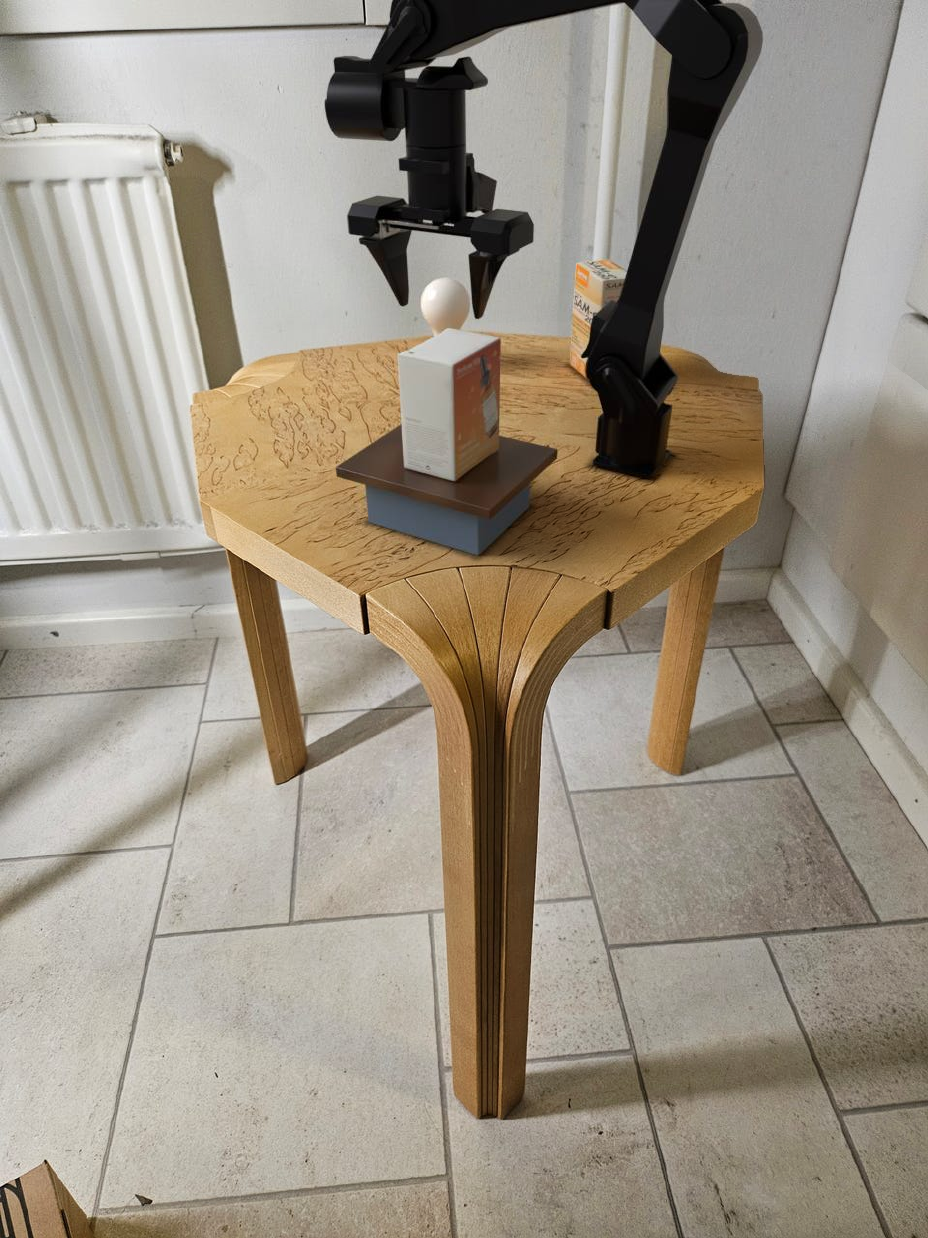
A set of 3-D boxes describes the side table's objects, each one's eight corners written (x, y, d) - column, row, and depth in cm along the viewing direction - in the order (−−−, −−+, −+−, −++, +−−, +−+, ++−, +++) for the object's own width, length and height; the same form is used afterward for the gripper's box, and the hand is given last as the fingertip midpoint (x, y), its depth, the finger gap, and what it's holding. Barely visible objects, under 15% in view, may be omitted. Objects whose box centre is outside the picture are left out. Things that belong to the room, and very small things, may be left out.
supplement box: (567, 365, 113) (573, 261, 105) (600, 361, 114) (609, 257, 106) (593, 388, 106) (602, 279, 99) (628, 383, 108) (640, 275, 100)
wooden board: (557, 458, 80) (557, 448, 79) (490, 520, 71) (490, 509, 71) (414, 424, 87) (413, 415, 86) (336, 476, 78) (335, 466, 77)
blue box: (529, 507, 83) (531, 460, 80) (478, 556, 76) (478, 506, 73) (425, 479, 88) (423, 434, 85) (368, 522, 81) (363, 475, 78)
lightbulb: (413, 364, 114) (409, 278, 107) (447, 352, 117) (445, 268, 111) (446, 376, 110) (443, 288, 104) (480, 363, 114) (480, 277, 107)
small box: (454, 484, 74) (452, 365, 68) (402, 469, 77) (395, 353, 70) (501, 449, 80) (502, 336, 73) (450, 435, 82) (448, 325, 76)
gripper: (561, 138, 82) (553, 303, 92) (400, 127, 90) (408, 280, 99) (508, 155, 75) (505, 333, 84) (336, 141, 82) (351, 306, 92)
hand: (440, 311), depth 90 cm, fingers open, 9 cm apart
